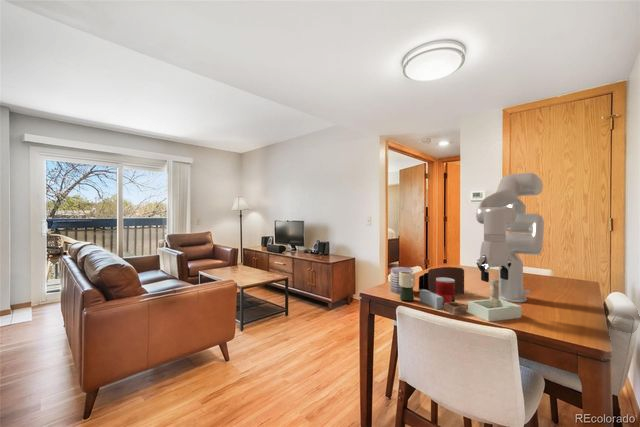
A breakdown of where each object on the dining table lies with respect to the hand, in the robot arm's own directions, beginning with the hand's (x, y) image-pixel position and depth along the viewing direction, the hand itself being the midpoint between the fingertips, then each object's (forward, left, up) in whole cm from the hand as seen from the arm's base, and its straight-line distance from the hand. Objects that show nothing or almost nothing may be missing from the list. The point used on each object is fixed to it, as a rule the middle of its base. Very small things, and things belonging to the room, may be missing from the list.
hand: (494, 280), depth 111 cm
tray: (+1, 0, -14) cm, 14 cm away
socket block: (+14, -6, -14) cm, 20 cm away
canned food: (+10, -17, -14) cm, 24 cm away
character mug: (+25, -25, -14) cm, 38 cm away
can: (+20, -38, -14) cm, 45 cm away
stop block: (+18, -17, -14) cm, 28 cm away
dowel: (+1, 0, -13) cm, 13 cm away
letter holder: (0, -32, -14) cm, 35 cm away
